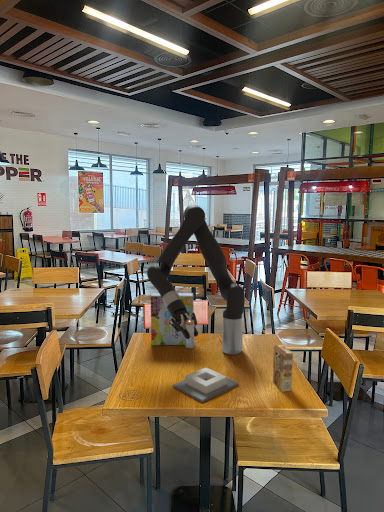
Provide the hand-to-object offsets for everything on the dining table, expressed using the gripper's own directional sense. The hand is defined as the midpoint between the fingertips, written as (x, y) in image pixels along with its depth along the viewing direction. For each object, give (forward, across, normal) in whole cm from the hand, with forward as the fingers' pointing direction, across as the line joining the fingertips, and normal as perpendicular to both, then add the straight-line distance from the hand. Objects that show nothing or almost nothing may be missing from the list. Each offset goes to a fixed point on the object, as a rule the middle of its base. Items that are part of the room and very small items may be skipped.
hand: (192, 336), depth 156 cm
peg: (+2, 0, +5) cm, 5 cm away
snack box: (-12, +16, +34) cm, 39 cm away
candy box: (+35, +17, -12) cm, 40 cm away
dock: (+20, -5, +2) cm, 21 cm away
